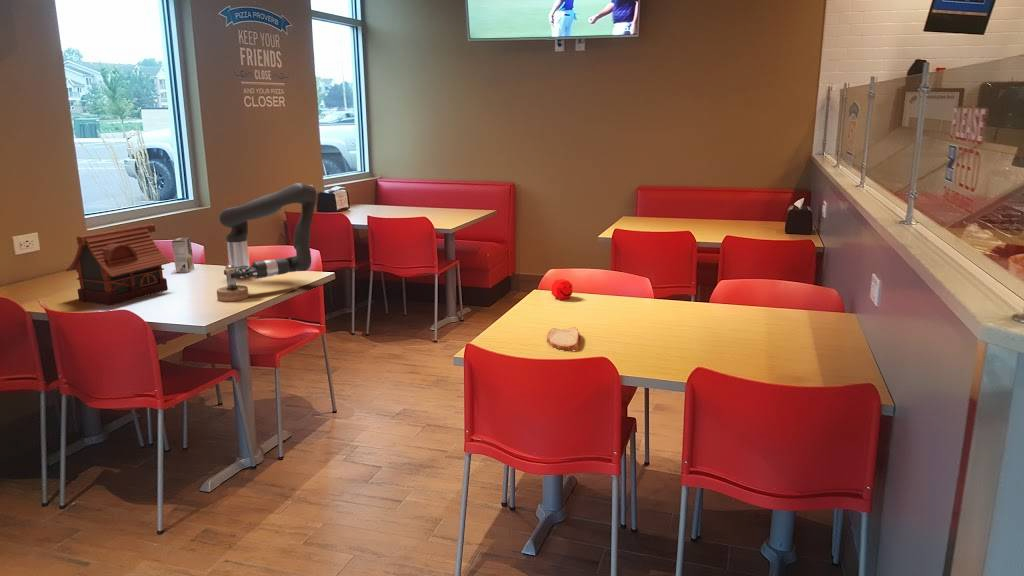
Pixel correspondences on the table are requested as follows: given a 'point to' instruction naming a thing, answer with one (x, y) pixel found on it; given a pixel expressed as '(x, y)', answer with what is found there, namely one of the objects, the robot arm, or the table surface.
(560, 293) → the ball
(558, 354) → the table surface
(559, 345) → the bread slice
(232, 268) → the grey tall cylinder
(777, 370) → the table surface
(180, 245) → the coffee box
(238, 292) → the bead
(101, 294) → the house
